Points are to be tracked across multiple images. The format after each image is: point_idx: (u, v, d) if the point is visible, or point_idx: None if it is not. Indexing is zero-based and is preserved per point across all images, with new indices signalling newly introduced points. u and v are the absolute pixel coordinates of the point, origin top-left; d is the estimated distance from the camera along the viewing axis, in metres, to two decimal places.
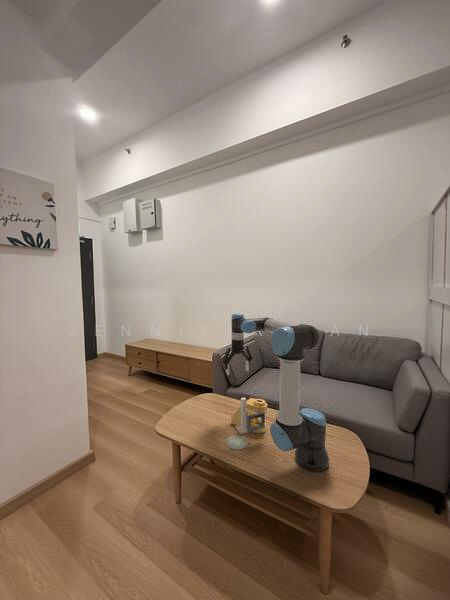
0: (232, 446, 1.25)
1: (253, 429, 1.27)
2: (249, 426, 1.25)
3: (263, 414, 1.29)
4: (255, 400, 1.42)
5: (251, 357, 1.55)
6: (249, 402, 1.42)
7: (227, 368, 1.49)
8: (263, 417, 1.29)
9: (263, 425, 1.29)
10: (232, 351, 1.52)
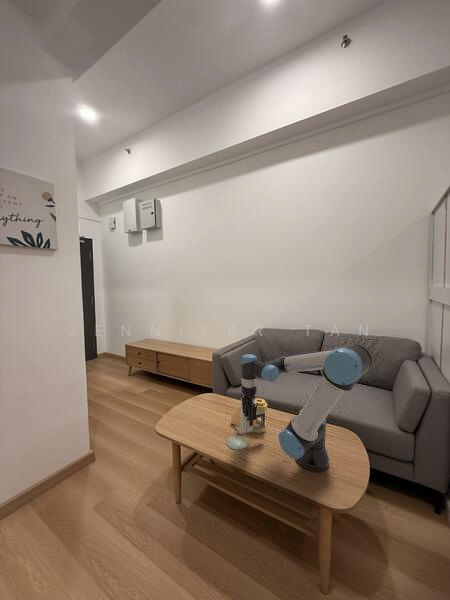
0: (232, 446, 1.25)
1: (253, 429, 1.27)
2: None
3: (263, 414, 1.29)
4: (255, 400, 1.42)
5: (251, 418, 1.22)
6: None
7: None
8: (263, 417, 1.29)
9: (263, 425, 1.29)
10: None
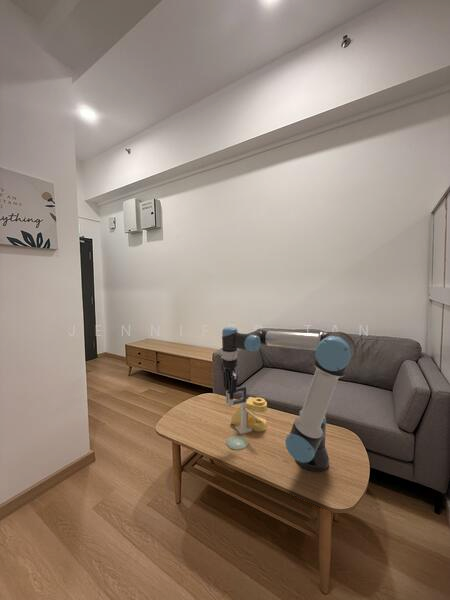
0: (232, 446, 1.25)
1: (234, 403, 1.26)
2: None
3: (244, 388, 1.28)
4: (255, 399, 1.42)
5: (231, 390, 1.20)
6: (249, 402, 1.42)
7: None
8: (244, 391, 1.28)
9: (244, 399, 1.28)
10: None
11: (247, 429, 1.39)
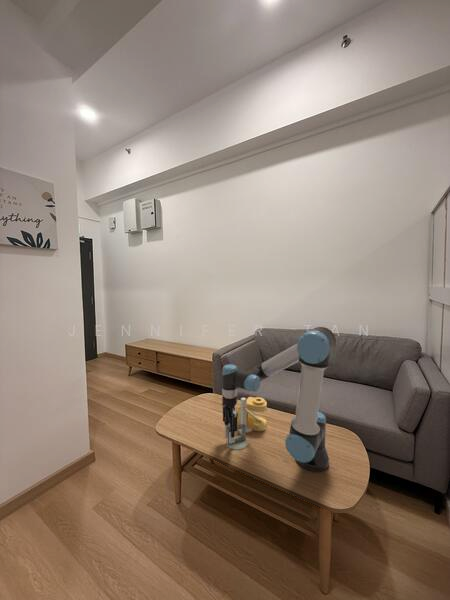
0: (232, 446, 1.25)
1: None
2: None
3: (244, 426, 1.30)
4: (254, 399, 1.42)
5: (232, 429, 1.21)
6: (248, 402, 1.42)
7: None
8: (244, 429, 1.30)
9: (244, 437, 1.30)
10: None
11: (247, 429, 1.39)
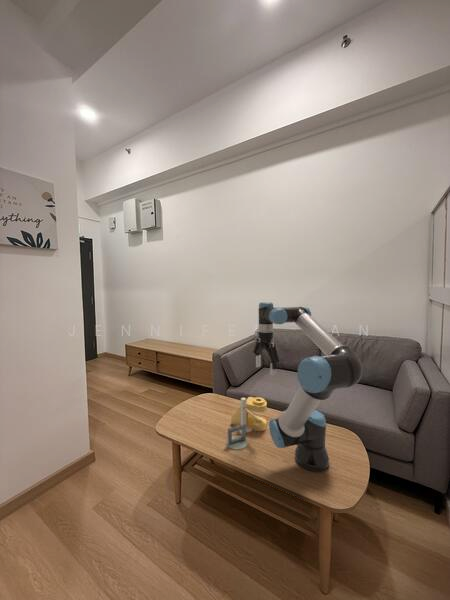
0: (232, 446, 1.25)
1: (234, 442, 1.27)
2: (230, 439, 1.26)
3: (244, 427, 1.29)
4: (254, 399, 1.42)
5: (274, 360, 1.22)
6: (248, 402, 1.42)
7: None
8: (244, 430, 1.29)
9: (244, 438, 1.29)
10: None
11: (247, 429, 1.39)
